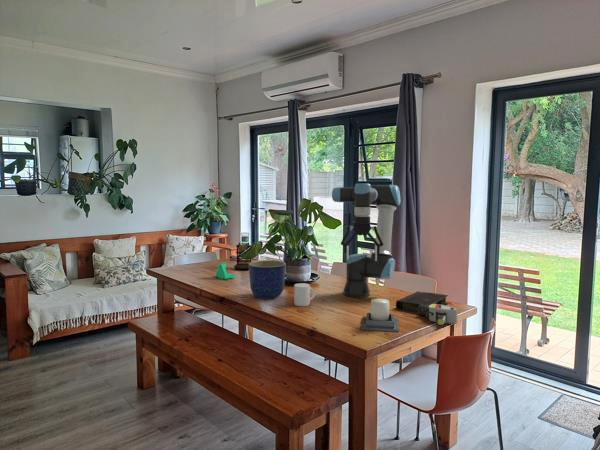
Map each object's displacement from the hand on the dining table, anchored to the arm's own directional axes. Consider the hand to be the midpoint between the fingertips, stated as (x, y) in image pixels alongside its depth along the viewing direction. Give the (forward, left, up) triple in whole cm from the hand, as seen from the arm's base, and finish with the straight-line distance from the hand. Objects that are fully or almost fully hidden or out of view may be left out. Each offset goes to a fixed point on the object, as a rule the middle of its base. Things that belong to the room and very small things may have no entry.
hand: (361, 260), depth 211 cm
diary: (-19, +31, -27) cm, 45 cm away
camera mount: (-67, -93, -27) cm, 118 cm away
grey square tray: (+15, +9, -27) cm, 32 cm away
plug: (+15, +9, -26) cm, 31 cm away
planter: (-24, -53, -27) cm, 64 cm away
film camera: (+6, +33, -27) cm, 43 cm away
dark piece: (-99, -90, -27) cm, 136 cm away
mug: (-14, -30, -27) cm, 43 cm away
